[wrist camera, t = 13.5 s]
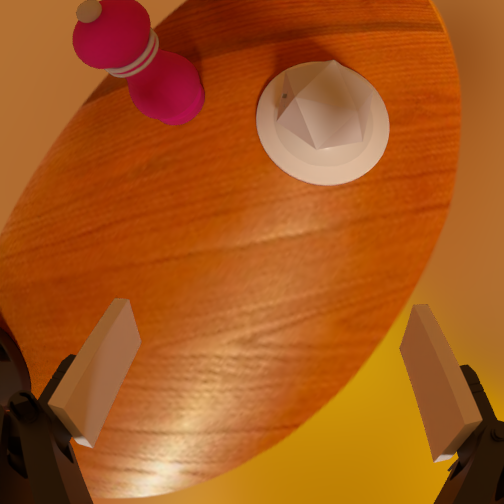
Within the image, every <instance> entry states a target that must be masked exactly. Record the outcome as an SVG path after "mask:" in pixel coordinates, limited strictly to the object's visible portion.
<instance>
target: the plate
mask: <svg viewBox="0 0 504 504" xmlns="http://www.w3.org/2000/svg"><path fill="white" fill-rule="evenodd" d="M316 63H320V62H307V63H302V64H298V65H295V66H293V67H290V68H288V69H286V70H290V69H294V68H298V67H302V66H307V65H311V64H316ZM343 67H344V66H343ZM345 68H346V69H347V70H349V71H350V72H351V73H352V74H354V75H355V76H356V77H358V78H359V79H360V80H361V81H362V82H364V83H365V84H366V85H367V86H369V87H370V88H371V89H372V90H373V95H372V100H371V105H370V110H369V115H368V120H367V124H366V129H365V133H364V138H363V142H357V143H352V144H346V145H340V146H335V147H329V148H324V149H319V150H316V149H314V148H313V147H312V146H310V145H309V144H308V143H306V142H305V141H303V140H302V139H301V138H299V137H298V136H296V135H295V134H293V133H292V132H291V131H289V130H288V129H286V128H285V127H283V126H282V125H280V124H279V123H277V122H276V121H277V115H278V110H279V104H280V99H281V93H282V88H283V82H284V77H285V71H286V70H284V71H283V72H281V73H280V74H279V75H277V76H276V77H275V78H274V79H273V80H272V81H271V82H270V83H269V84H268V86H267V87H266V88H265V90H264V92H263V93H262V95H261V98H260V100H259V103H258V107H257V115H256V122H257V130H258V134H259V137H260V140H261V143H262V145H263V147H264V149H265V151H266V153H267V154H268V156H269V157H270V159H271V160H272V161H273V162H274V163H275V164H276V165H277V166H278V167H279V168H280V169H281V170H282V171H284V172H285V173H287V174H288V175H290V176H292V177H294V178H295V179H297V180H300V181H303V182H305V183H309V184H313V185H320V186H334V185H341V184H345V183H348V182H351V181H353V180H355V179H357V178H359V177H361V176H362V175H364V174H365V173H367V172H368V171H369V170H370V169H371V168H373V166H374V165H375V164H376V163H377V162H378V161H379V159H380V158H381V156H382V155H383V152H384V150H385V148H386V145H387V142H388V137H389V119H388V114H387V110H386V107H385V105H384V102H383V100H382V98H381V97H380V95H379V93H378V92H377V91H376V89H375V88H374V87H373V86H372V85H371V84H370V83H369V82H368V81H367V80H366V79H365V78H364V77H362V76H361V75H360V74H358V73H356V72H355V71H353V70H351V69H349V68H347V67H345Z"/></svg>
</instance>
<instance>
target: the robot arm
mask: <svg viewBox="0 0 504 504" xmlns="http://www.w3.org/2000/svg"><path fill="white" fill-rule="evenodd" d="M140 344H141V339H140V336H139V333H138V329H137V326H136V323H135V320H134V316H133V313H132V309H131V306H130V302H129V299H120V298H115V299H114V300H113V302H112V303H111V304H110V306H109V307H108V309H107V310H106V312H105V313H104V315H103V316H102V318H101V319H100V321H99V322H98V324H97V325H96V327H95V328H94V330H93V331H92V333H91V334H90V336H89V337H88V339H87V340H86V342H85V343H84V345H83V346H82V348H81V350H80V351H79V353H78V354H77V355H72V354H70V355H69V356H68V357H67V358H65V359H64V360H63V361H62V362H61V364H60V365H59V367H58V368H57V371H56V372H55V373H54V375H53V376H52V379H50V381H49V382H48V384H47V386H46V387H45V389H44V391H43V392H42V394H41V395H40V397H39V399H38V400H37V399H36V398H35V396H34V395H33V394H32V393H31V384H30V378H29V374H28V370H27V367H26V365H25V362H24V360H23V357H22V355H21V353H20V352H19V350H18V348H17V346H16V345H15V343H14V342H13V340H12V339H11V338H10V337H9V335H8V334H7V333H6V332H5V331H4V330H3V329H1V328H0V504H93V501H92V499H91V497H90V494H89V492H88V489H87V487H86V484H85V482H84V479H83V477H82V474H81V471H80V468H79V466H78V463H77V460H76V457H75V454H74V451H73V448H72V446H71V444H70V442H69V441H70V439H71V437H73V438H74V439H75V440H76V442H77V443H78V444H81V445H84V446H88V447H91V448H93V447H94V445H95V442H96V440H97V438H98V435H99V433H100V431H101V428H102V426H103V424H104V422H105V419H106V417H107V415H108V413H109V410H110V408H111V406H112V404H113V401H114V399H115V397H116V395H117V393H118V391H119V388H120V386H121V384H122V382H123V380H124V378H125V375H126V373H127V371H128V369H129V367H130V365H131V363H132V361H133V359H134V357H135V355H136V352H137V350H138V348H139V346H140ZM400 351H401V355H402V357H403V360H404V363H405V366H406V369H407V372H408V375H409V378H410V381H411V384H412V387H413V391H414V393H415V397H416V400H417V403H418V407H419V410H420V414H421V417H422V420H423V424H424V427H425V431H426V435H427V438H428V442H429V446H430V449H431V454H432V458H433V462H438V461H442V460H447V459H450V458H451V457H452V456H453V455H454V454H455V453H456V452H457V454H458V457H459V458H458V459H457V460H456V461H455V462H454V463H453V464H452V466H451V467H450V468H449V469H448V471H450V470H451V469H452V470H451V472H450V474H449V477H448V478H447V480H446V482H445V484H444V486H443V488H442V490H441V491H440V493H439V495H438V497H437V498H436V500H435V502H434V504H504V422H502V421H498V420H497V418H496V416H495V414H494V412H493V409H492V407H491V405H490V403H489V400H488V398H487V396H486V393H485V392H484V389H483V387H482V385H481V384H480V381H479V378H478V376H477V374H476V372H475V371H474V370H473V369H472V368H471V367H469V365H462V366H459V364H458V362H457V360H456V358H455V356H454V354H453V352H452V350H451V348H450V346H449V344H448V342H447V340H446V338H445V336H444V334H443V332H442V330H441V328H440V326H439V325H438V323H437V321H436V319H435V317H434V315H433V313H432V311H431V310H430V308H429V306H428V305H427V304H421V305H413V308H412V311H411V314H410V318H409V321H408V325H407V327H406V330H405V334H404V337H403V340H402V343H401V346H400ZM8 410H10V411H8Z"/></svg>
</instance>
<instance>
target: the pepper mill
mask: <svg viewBox="0 0 504 504" xmlns="http://www.w3.org/2000/svg"><path fill="white" fill-rule="evenodd" d="M76 14H77V18H78V22H77V24H76V26H75V29H74V32H73V46H74V50H75V52H76V54H77V55H78V57H79V58H80V59H81V60H82V61H83V62H84V63H85V64H87V65H89V66H90V67H94V68H98V69H104V70H106V71H107V72H109V73H110V74H111V75H112V76H115V77H119V78H123V77H125V78H126V79H127V82H128V87H129V93H130V96H131V98H132V100H133V103H134V104H135V106H136V107H137V108H138V109H139V110H140V111H141V112H142V113H143V114H145V115H146V116H148V117H151V118H154V119H159V120H160V121H162V122H163V123H166V124H169V125H179V124H183V123H186V122H188V121H190V120H191V119H193V118H194V117H195V116H196V115H197V114H198V113H199V112H200V110H201V108H202V106H203V104H204V100H205V92H204V89H203V87H202V85H201V83H200V78H199V74H198V72H197V69H196V68H195V67H194V65H193V64H192V63H191V62H190V61H189V60H188V59H186V58H185V57H183V56H181V55H179V54H176V53H173V52H168V51H164V50H161V49H160V48H159V39H158V36H157V34H156V33H155V32H154V31H153V29H152V28H151V27H150V18H149V15H148V13H147V11H146V9H145V8H144V7H143V6H142V5H141V4H140V3H138V2H137V1H135V0H102V1H99V2H98V1H96V0H87V1H84V2H83V3H82V4H80V6H79V7H78V9H77V12H76Z"/></svg>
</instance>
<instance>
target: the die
mask: <svg viewBox="0 0 504 504" xmlns="http://www.w3.org/2000/svg"><path fill="white" fill-rule="evenodd" d="M372 95H373V90H372V89H371V88H370V87H369V86H367V85H366V84H365V83H364V82H362V81H361V80H360V79H359V78H358V77H356V76H355V75H354V74H352V73H351V72H350V71H349V70H347V69H346V68H345V67H343V66H342V65H341V64H339V63H338V62H337V61H335V60H330V61H325V62H320V63H316V64H311V65H307V66H302V67H298V68H294V69H290V70H286V71H285V77H284V82H283V88H282V93H281V99H280V104H279V110H278V115H277V121H276V122H277V123H279V124H280V125H282V126H283V127H285V128H286V129H288V130H289V131H291V132H292V133H293V134H295V135H296V136H298V137H299V138H301V139H302V140H303V141H305V142H306V143H308V144H309V145H310V146H312V147H313V148H314V149H316V150H319V149H324V148H329V147H335V146H340V145H346V144H352V143H357V142H363V138H364V133H365V129H366V124H367V120H368V115H369V110H370V105H371V100H372Z"/></svg>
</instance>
